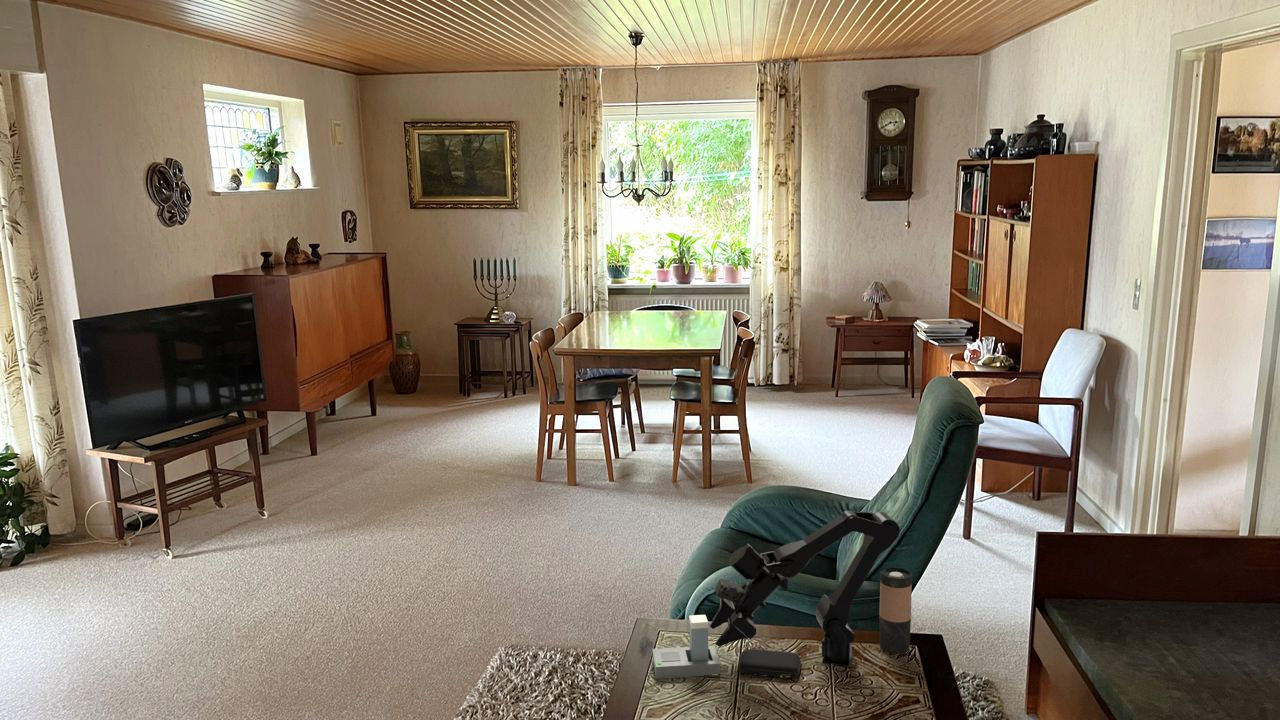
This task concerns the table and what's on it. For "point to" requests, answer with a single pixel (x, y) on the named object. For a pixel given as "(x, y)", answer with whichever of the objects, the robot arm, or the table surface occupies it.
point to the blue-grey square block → (698, 638)
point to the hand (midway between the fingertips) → (714, 636)
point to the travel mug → (895, 610)
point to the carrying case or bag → (769, 663)
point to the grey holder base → (683, 663)
